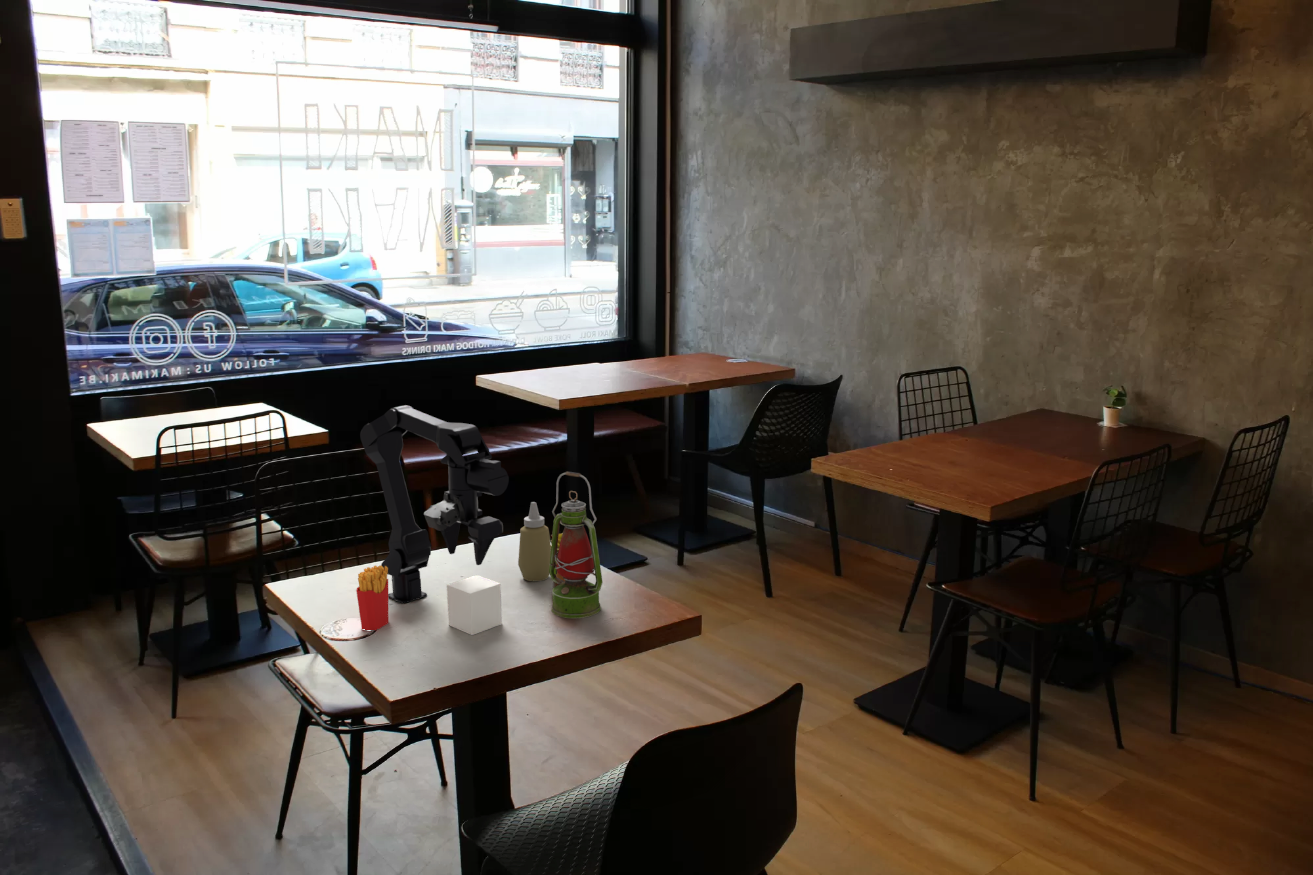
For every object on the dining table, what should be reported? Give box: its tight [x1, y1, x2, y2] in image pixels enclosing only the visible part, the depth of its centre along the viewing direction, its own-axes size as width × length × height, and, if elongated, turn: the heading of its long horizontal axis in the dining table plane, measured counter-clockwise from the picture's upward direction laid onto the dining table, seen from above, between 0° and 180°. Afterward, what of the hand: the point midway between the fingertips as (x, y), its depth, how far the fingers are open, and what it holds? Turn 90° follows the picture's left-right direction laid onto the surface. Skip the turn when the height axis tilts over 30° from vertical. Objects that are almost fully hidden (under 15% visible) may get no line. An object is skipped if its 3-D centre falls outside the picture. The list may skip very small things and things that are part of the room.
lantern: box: [549, 471, 603, 619], centre depth 222 cm, size 14×11×30 cm
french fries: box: [355, 564, 390, 631], centre depth 216 cm, size 8×4×12 cm, turn 158°
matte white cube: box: [446, 574, 503, 636], centre depth 216 cm, size 8×8×9 cm
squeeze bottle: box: [517, 501, 552, 582], centre depth 242 cm, size 8×8×18 cm
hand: (465, 559), depth 219 cm, fingers open, 9 cm apart
